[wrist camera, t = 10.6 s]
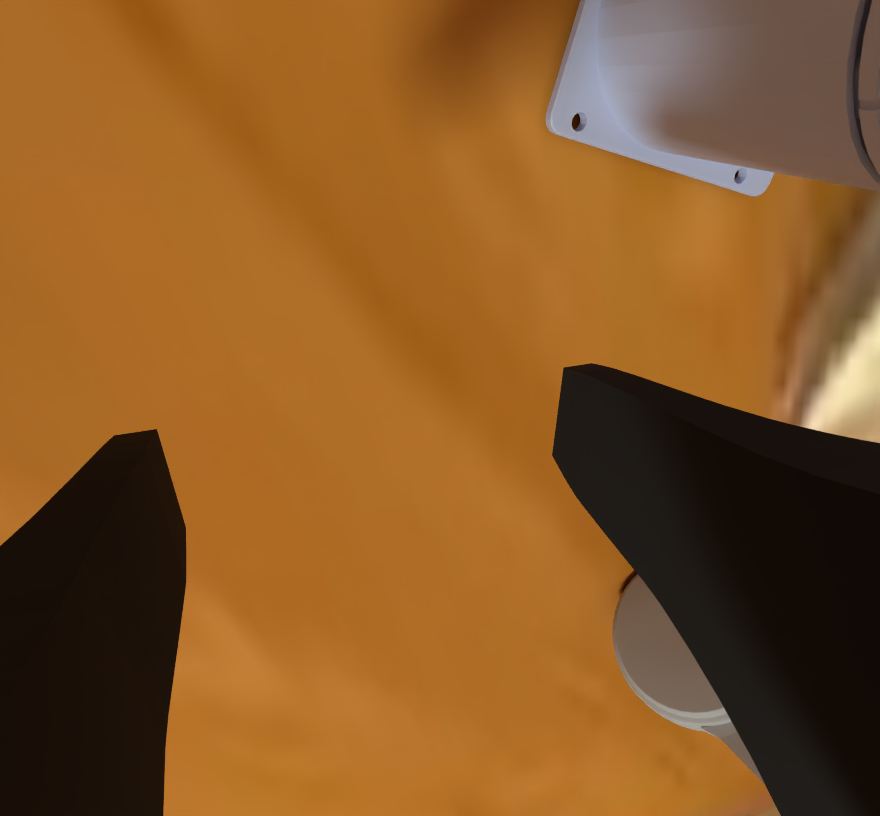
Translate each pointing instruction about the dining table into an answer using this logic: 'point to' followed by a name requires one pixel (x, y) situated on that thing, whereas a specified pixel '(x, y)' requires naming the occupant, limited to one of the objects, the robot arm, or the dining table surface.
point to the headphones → (668, 669)
